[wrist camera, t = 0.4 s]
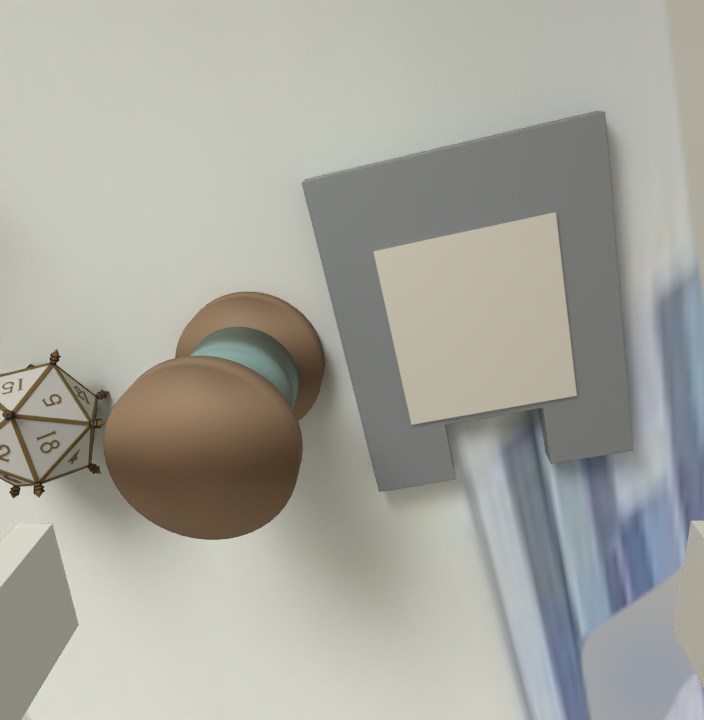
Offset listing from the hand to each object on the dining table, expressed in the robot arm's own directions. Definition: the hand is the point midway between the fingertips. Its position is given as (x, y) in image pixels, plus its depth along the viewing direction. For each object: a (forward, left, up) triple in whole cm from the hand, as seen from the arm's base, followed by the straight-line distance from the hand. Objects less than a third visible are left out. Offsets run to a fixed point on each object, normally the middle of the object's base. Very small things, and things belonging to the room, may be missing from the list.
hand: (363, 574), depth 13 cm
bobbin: (+4, -9, -26) cm, 28 cm away
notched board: (+4, +5, -26) cm, 27 cm away
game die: (+4, -22, -27) cm, 35 cm away
